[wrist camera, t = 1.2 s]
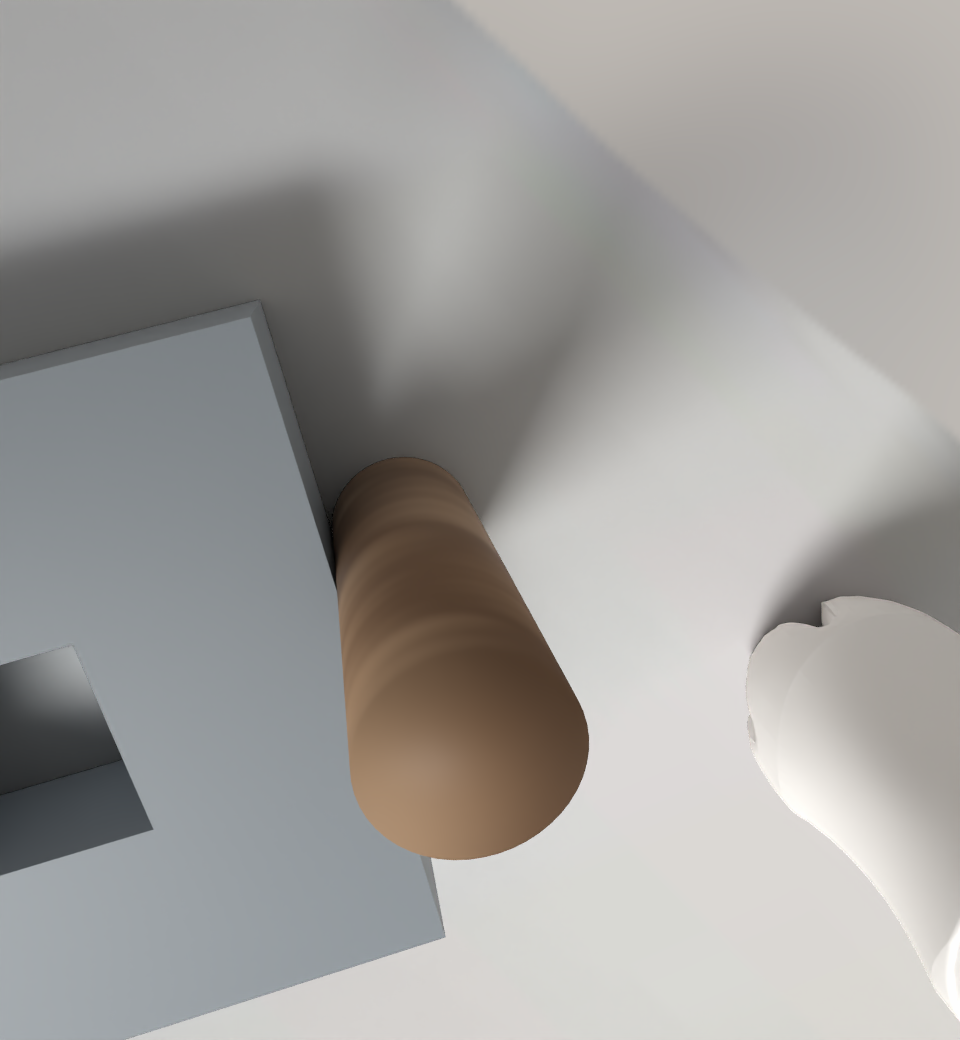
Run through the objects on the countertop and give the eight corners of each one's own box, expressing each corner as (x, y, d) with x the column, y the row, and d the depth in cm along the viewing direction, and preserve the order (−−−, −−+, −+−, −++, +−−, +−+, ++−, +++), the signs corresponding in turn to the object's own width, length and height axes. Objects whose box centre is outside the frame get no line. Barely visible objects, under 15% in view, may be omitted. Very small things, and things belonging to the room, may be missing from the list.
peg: (354, 605, 27) (386, 888, 16) (315, 478, 25) (319, 691, 14) (485, 567, 27) (607, 819, 16) (453, 441, 26) (564, 619, 15)
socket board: (-132, 1020, 28) (-199, 1143, 25) (-473, 484, 22) (-631, 540, 18) (428, 846, 30) (445, 937, 26) (260, 299, 24) (250, 316, 20)
